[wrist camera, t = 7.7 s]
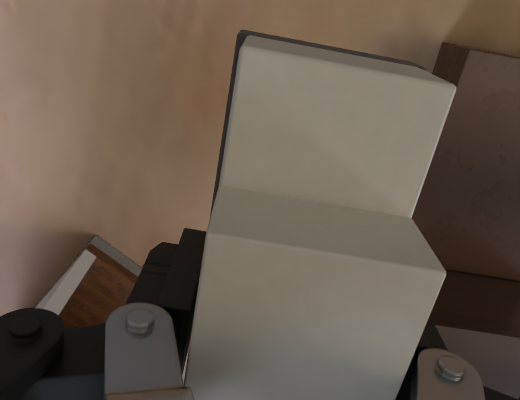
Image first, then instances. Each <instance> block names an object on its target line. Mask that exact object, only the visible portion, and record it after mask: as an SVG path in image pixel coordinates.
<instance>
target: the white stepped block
mask: <svg viewBox="0 0 520 400" xmlns="http://www.w3.org/2000/svg"><path fill="white" fill-rule="evenodd" d="M455 92H456V86H455V85H454V84H452V83H450V82H448V81H446V80H444V79H441V78H439V77H437V76H435V75H433V74H431V73H429V72H427V71H426V68H424V67H422V66H419V65H417V64H415V63H413V62H410V61H404V60H399V59H394V58H389V57H384V56H378V55H373V54H368V53H363V52H357V51H352V50H347V49H342V48H336V47H331V46H326V45H321V44H316V43H310V42H305V41H300V40H295V39H289V38H284V37H279V36H274V35H268V34H263V33H258V32H253V31H247V30H241V31H240V32H239V33H238V35H237V40H236V47H235V54H234V60H233V67H232V74H231V81H230V87H229V94H228V101H227V107H226V114H225V121H224V127H223V134H222V141H221V148H220V154H219V161H218V168H217V174H216V181H215V188H214V194H213V201H212V208H211V215H210V221H209V225H208V228H207V232H206V237H205V244H204V251H203V258H202V264H201V271H200V278H199V285H198V291H197V298H196V305H195V312H194V319H193V325H192V332H191V339H190V346H189V352H188V359H187V366H186V373H185V379H184V386H190V387H191V389H192V392H193V396H194V400H395V399H396V397H397V394H398V392H399V389H400V387H401V384H402V382H403V380H404V377H405V375H406V372H407V370H408V367H409V365H410V362H411V360H412V358H413V355H414V353H415V350H416V348H417V345H418V343H419V340H420V338H421V336H422V333H423V331H424V328H425V326H426V323H427V321H428V318H429V316H430V313H431V311H432V309H433V306H434V304H435V301H436V299H437V296H438V294H439V291H440V289H441V287H442V284H443V282H444V279H445V277H446V271H445V269H444V268H443V266H442V265H441V263H440V261H439V260H438V258H437V257H436V255H435V254H434V252H433V251H432V249H431V247H430V246H429V244H428V243H427V241H426V240H425V238H424V237H423V235H422V234H421V232H420V230H419V229H418V227H417V226H416V224H415V223H414V221H413V220H412V215H413V212H414V209H415V207H416V204H417V201H418V198H419V195H420V192H421V189H422V187H423V184H424V181H425V178H426V175H427V172H428V170H429V167H430V164H431V161H432V158H433V155H434V152H435V150H436V147H437V144H438V141H439V138H440V135H441V132H442V130H443V127H444V124H445V121H446V118H447V115H448V112H449V110H450V107H451V104H452V101H453V98H454V95H455Z"/></svg>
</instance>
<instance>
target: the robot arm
mask: <svg viewBox="0 0 520 400" xmlns="http://www.w3.org/2000/svg"><path fill="white" fill-rule="evenodd" d="M205 237H206V231H200V230H194V229H188V228H184V230H183V233H182V236H181V239H180V241H179V244H172V243H166V242H162V243H160V244H159V245H158V246H156V247H155V248H153V249H152V250H150V253H149V255H148V257H147V259H146V261H145V264H144V266H143V268H142V270H141V273H140V274H139V276H138V278H137V281H136V283H135V285H134V287H133V289H132V291H131V294H130V296H129V298H128V300H127V302H126V304H125V305H123V306H120V307H118V308H117V309H115V310H114V311H112V312H111V313H110V315H109V316H108V318H107V320H106V322H105V323H102V324H99V325H94V326H87V327H76V328H64V322H63V320H62V319H61V318H60V316H59V315H57V314H56V313H54V312H52V311H49V310H46V309H41V308H26V309H20V310H16V311H12V312H9V313H7V314H5V315H3V316H1V317H0V400H194V396H193V392H192V389H191V387H190V386H184V385H183V379H182V374H183V370H184V365H185V361H186V356H187V352H188V348H189V343H190V339H191V332H192V325H193V319H194V312H195V305H196V298H197V291H198V285H199V278H200V271H201V264H202V258H203V251H204V244H205ZM395 400H520V397H519V398H518V399H516V398H514V397H511V396H508V395H506V394H503V393H501V392H498V391H495V390H493V389H490V388H488V387H486V386H483V384H482V380H481V377H480V375H479V373H478V372H477V370H476V369H475V368H474V367H473V366H472V365H471V364H470V363H469V362H468V361H466V360H465V359H463V358H462V357H460V356H459V355H457V354H455V353H453V352H450V351H448V349H447V347H446V345H445V343H444V341H443V340H442V338H441V336H440V334H439V332H438V330H437V328H436V326H435V324H434V322H433V320H431V316H429V318H428V321H427V323H426V326H425V328H424V331H423V333H422V336H421V338H420V340H419V343H418V345H417V348H416V350H415V353H414V355H413V358H412V360H411V362H410V365H409V367H408V370H407V372H406V375H405V377H404V380H403V382H402V384H401V387H400V389H399V392H398V394H397V397H396V399H395Z"/></svg>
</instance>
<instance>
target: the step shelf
mask: <svg viewBox="0 0 520 400" xmlns="http://www.w3.org/2000/svg"><path fill="white" fill-rule="evenodd" d="M432 74H433V75H435V76H437V77H439V78H441V79H444V80H446V81H448V82H450V83H452V84H454V85H455V86H456V92H455V95H454V98H453V101H452V104H451V107H450V110H449V112H448V115H447V118H446V121H445V124H444V127H443V130H442V132H441V135H440V138H439V141H438V144H437V147H436V150H435V152H434V155H433V158H432V161H431V164H430V167H429V170H428V172H427V175H426V178H425V181H424V184H423V187H422V189H421V192H420V195H419V198H418V201H417V204H416V207H415V209H414V212H413V215H412V220H413V221H414V223H415V224H416V226H417V227H418V229H419V230H420V232H421V234H422V235H423V237H424V238H425V240H426V241H427V243H428V244H429V246H430V247H431V249H432V251H433V252H434V254H435V255H436V257H437V258H438V260H439V261H440V263H441V265H442V266H443V268H444V269H445V271H446V277H445V279H444V282H443V284H442V287H441V289H440V291H439V294H438V296H437V299H436V301H435V304H434V306H433V309H432V311H431V313H430V316H431V320H433V322H434V324H435V326H436V328H437V330H438V332H439V334H440V336H441V338H442V340H443V341H444V343H445V345H446V347H447V349H448V351H450V352H453V353H455V354H457V355H459V356H460V357H462V358H463V359H465V360H466V361H468V362H469V363H470V364H471V365H472V366H473V367H474V368H475V369H476V370H477V372H478V373H479V375H480V377H481V380H482V384H483V386H486V387H488V388H490V389H493V390H495V391H498V392H501V393H503V394H506V395H508V396H511V397H514V398H516V399H518V398H519V397H520V57H519V56H513V55H508V54H503V53H498V52H493V51H487V50H482V49H477V48H472V47H466V46H461V45H456V44H451V43H446V42H443V43H442V45H441V48H440V51H439V55H438V58H437V61H436V64H435V67H434V70H433V73H432Z"/></svg>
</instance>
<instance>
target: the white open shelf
mask: <svg viewBox="0 0 520 400" xmlns="http://www.w3.org/2000/svg"><path fill="white" fill-rule="evenodd" d="M141 270H142V267H140V266H139V265H137V264H136V263H135V262H133V261H132V260H130V259H129V258H128V257H126V256H125V255H123V254H122V253H121V252H119V251H118V250H116V249H115V248H114V247H112V246H111V245H109V244H108V243H107V242H105V241H104V240H102V239H101V238H100V237H98V236H97V235H96V236H95V237H94V238H93V239H92V240H91V241H90V242H89V244H88V245H87V246H86V247H85V248H84V249H83V251H82V252H81V253H80V254H79V255H78V256H77V258H76V259H75V260H74V261H73V262H72V263H71V265H70V266H69V267H68V268H67V269H66V270H65V272H64V273H63V274H62V275H61V276H60V277H59V279H58V280H57V281H56V282H55V283H54V284H53V286H52V287H51V288H50V289H49V290H48V291H47V293H46V294H45V295H44V296H43V297H42V298H41V300H40V301H39V302H38V303H37V304H36V305H35V307H34V308H41V309H46V310H49V311H52V312H54V313H56V314H57V315H59V316H60V318H61V319H62V320H63V322H64V328H76V327H87V326H94V325H99V324H102V323H105V322H106V320H107V318H108V316H109V315H110V313H111V312H112V311H114V310H115V309H117V308H118V307H120V306H123V305H125V304H126V302H127V300H128V298H129V296H130V294H131V291H132V289H133V287H134V285H135V283H136V281H137V278H138V276H139V274H140V273H141ZM189 346H190V343H189ZM188 352H189V348H188ZM188 352H187V353H188Z"/></svg>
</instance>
